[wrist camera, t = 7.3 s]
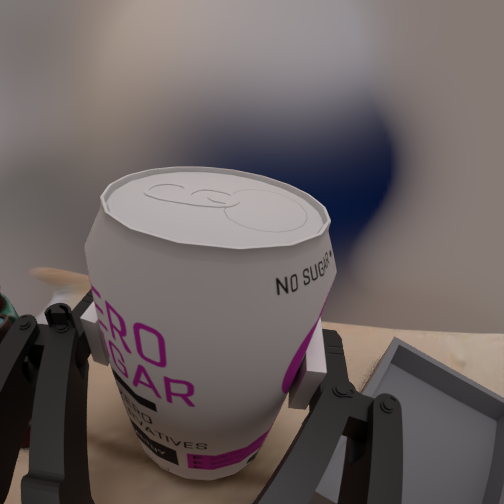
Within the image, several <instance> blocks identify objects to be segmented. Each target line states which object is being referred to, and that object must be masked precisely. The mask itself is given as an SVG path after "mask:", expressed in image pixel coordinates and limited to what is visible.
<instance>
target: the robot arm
mask: <svg viewBox="0 0 504 504" xmlns="http://www.w3.org/2000/svg"><path fill="white" fill-rule="evenodd" d="M44 313H45V316H46V319H47V322H48V325H45V324H38V323H37V321H36V319H35V317H34V316H32V315H23V316H20V317H19V318H17V319H16V320H15V322H14V323H13V325H12V326H11V328H10V329H9V331H8V332H7V334H6V336H5V337H4V339H3V340H2V342H1V344H0V504H4V502H5V500H6V498H7V495H8V493H9V489H10V485H11V481H12V477H13V473H14V469H15V465H16V462H17V458H18V454H19V451H20V448H21V444H22V441H23V438H24V435H25V432H26V429H27V426H28V423H29V420H30V417H31V415H32V422H31V432H30V447H29V472H28V474H27V475H25V476H23V478H22V480H21V503H22V504H95V503H94V501H93V499H92V497H91V491H90V481H89V470H88V455H87V387H88V371H89V363H88V357H89V356H90V354H92V357H93V360H94V361H95V362H98V363H100V364H103V365H106V366H108V364H109V363H110V362H109V358H108V355H107V351H106V348H105V344H104V341H103V337H102V333H101V329H100V325H99V321H98V317H97V313H96V308H95V304H94V299H93V294H92V289H91V290H90V291H89V292H88V293H87V294H86V296H84V298H83V299H82V301H80V302H79V303H78V305H77V306H76V307H75V308H74V309H73V311H71V308H70V307H69V306H68V305H67V304H64V303H56V304H53V305H51V306H49V307H48V308H47V309H46V311H45V312H44ZM26 356H27V358H26ZM25 358H26V360H25ZM24 360H25V361H24ZM308 405H309V411H310V412H309V414H308V415H307V417H306V418H305V420H304V421H303V423H302V426H301V428H300V430H299V431H298V433H297V435H296V437H295V438H294V440H293V442H292V444H291V445H290V447H289V449H288V450H287V452H286V454H285V455H284V457H283V459H282V460H281V462H280V464H279V465H278V467H277V468H276V470H275V471H274V473H273V475H272V476H271V478H270V479H269V481H268V482H267V484H266V485H265V487H264V488H263V490H262V491H261V493H260V494H259V495H258V497H257V498H256V500H255V501H254V503H253V504H308V503H309V502H310V500H311V498H312V496H313V494H314V492H315V490H316V489H317V487H318V485H319V483H320V481H321V479H322V477H323V475H324V473H325V471H326V468H327V466H328V464H329V462H330V460H331V458H332V456H333V453H334V451H335V449H336V447H337V444H338V442H339V440H340V437H341V435H343V436H346V437H347V441H346V450H345V458H344V465H343V472H342V479H341V485H340V491H339V497H338V502H337V504H401V503H402V487H403V425H402V408H401V404H400V402H399V401H398V399H397V398H396V397H394V396H393V395H391V394H388V393H382V394H380V395H378V396H377V397H376V398H372V397H369V396H366V395H363V394H361V393H359V392H357V391H356V389H355V387H354V385H353V384H352V383H351V382H349V379H348V373H347V367H346V361H345V356H344V350H343V345H342V339H341V337H340V336H339V334H338V333H337V331H335V330H327V329H322V326H321V319H319V321H318V324H317V327H316V329H315V332H314V334H313V336H312V339H311V341H310V344H309V346H308V349H307V351H306V353H305V356H304V358H303V360H302V363H301V365H300V367H299V369H298V372H297V374H296V376H295V379H294V381H293V383H292V385H291V387H290V390H289V406H288V408H293V409H304V410H306V408H307V406H308ZM32 412H33V413H32Z"/></svg>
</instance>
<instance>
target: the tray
mask: <svg viewBox="0 0 504 504" xmlns="http://www.w3.org/2000/svg"><path fill="white" fill-rule="evenodd" d="M360 393H361V394H363V395H366V396H369V397H372V398H376V397H377V396H378V395H380V394H382V393H388V394H391V395H393V396H394V397H396V398H397V399H398V401H399V402H400V404H401V408H402V425H403V487H402V503H401V504H504V398H503V397H501V396H499V395H498V394H496V393H494V392H492V391H490V390H489V389H487V388H485V387H483V386H482V385H480V384H478V383H476V382H474V381H473V380H471V379H469V378H467V377H465V376H464V375H462V374H460V373H458V372H457V371H455V370H453V369H451V368H449V367H448V366H446V365H444V364H442V363H441V362H439V361H437V360H435V359H433V358H432V357H430V356H428V355H426V354H425V353H423V352H421V351H419V350H417V349H416V348H414V347H412V346H410V345H409V344H407V343H405V342H403V341H401V340H400V339H398V338H396V337H394V338H393V340H392V342H391V343H390V345H389V347H388V348H387V350H386V351H385V353H384V354H383V356H382V358H381V359H380V361H379V363H378V364H377V366H376V368H375V369H374V371H373V373H372V375H371V376H370V378H369V380H368V381H367V383H366V384H365V386H364V388H363V389H362V391H361V392H360ZM346 441H347V437H346V436H343V435H341V437H340V440H339V442H338V444H337V447H336V449H335V451H334V453H333V456H332V458H331V460H330V462H329V464H328V466H327V468H326V471H325V473H324V475H323V477H322V479H321V481H320V483H319V485H318V487H317V489H316V490H315V492H314V494H313V496H312V498H311V500H310V502H309V503H308V504H337V502H338V497H339V491H340V485H341V479H342V472H343V465H344V458H345V450H346Z"/></svg>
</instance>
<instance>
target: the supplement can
mask: <svg viewBox="0 0 504 504" xmlns="http://www.w3.org/2000/svg"><path fill="white" fill-rule="evenodd" d="M100 201H101V208H100V211H99V212H98V215H97V217H96V219H95V222H94V224H93V226H92V229H91V231H90V234H89V236H88V238H87V241H86V244H85V254H86V261H87V267H88V273H89V279H90V284H91V289H92V294H93V299H94V304H95V308H96V313H97V317H98V321H99V325H100V329H101V333H102V337H103V341H104V344H105V348H106V351H107V355H108V358H109V362H110V365H111V368H112V371H113V374H114V377H115V380H116V383H117V386H118V389H119V392H120V394H121V397H122V400H123V403H124V405H125V408H126V410H127V413H128V415H129V418H130V420H131V423H132V425H133V428H134V430H135V432H136V435H137V437H138V439H139V441H140V443H141V445H142V447H143V449H144V452H145V453H146V454H147V455H148V456H149V457H150V458H151V459H152V460H153V461H155V462H156V463H157V464H158V465H159V466H160V467H161V468H162V469H164V470H167V471H169V472H171V473H173V474H176V475H178V476H181V477H183V478H186V479H197V480H215V479H219V478H222V477H226V476H230V475H233V474H235V473H237V472H238V471H240V470H241V469H242V468H244V467H245V466H246V465H248V464H249V463H251V462H252V461H253V460H254V458H255V456H256V455H257V453H258V451H259V450H260V448H261V446H262V444H263V443H264V441H265V439H266V437H267V435H268V433H269V431H270V429H271V427H272V425H273V423H274V421H275V419H276V417H277V415H278V413H279V411H280V409H281V407H282V405H283V402H284V400H285V398H286V396H287V394H288V392H289V390H290V387H291V385H292V383H293V381H294V379H295V376H296V374H297V372H298V369H299V367H300V365H301V363H302V360H303V358H304V356H305V353H306V351H307V349H308V346H309V344H310V341H311V339H312V336H313V334H314V332H315V329H316V327H317V324H318V321H319V319H320V316H321V314H322V311H323V308H324V306H325V303H326V300H327V298H328V295H329V292H330V290H331V287H332V284H333V281H334V278H335V275H336V272H337V270H336V265H335V260H334V256H333V251H332V247H331V242H330V238H329V233H328V229H329V225H330V222H331V221H330V218H329V216H328V213H327V210H326V208H325V207H324V206H323V205H322V204H321V203H319V202H318V201H317V200H316V199H314V198H313V197H312V196H311V195H309V194H307V193H305V192H303V191H301V190H299V189H297V188H295V187H293V186H291V185H289V184H286V183H283V182H280V181H277V180H274V179H271V178H267V177H264V176H260V175H256V174H251V173H247V172H242V171H237V170H229V169H221V168H211V167H169V168H158V169H150V170H146V171H142V172H138V173H134V174H130V175H127V176H125V177H123V178H121V179H119V180H117V181H115V182H113V183H111V184H109V185H108V187H107V188H106V190H105V191H104V192H103V194H102V195H101V197H100Z"/></svg>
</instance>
